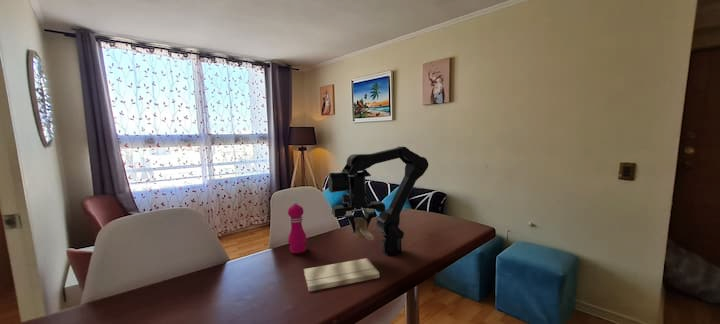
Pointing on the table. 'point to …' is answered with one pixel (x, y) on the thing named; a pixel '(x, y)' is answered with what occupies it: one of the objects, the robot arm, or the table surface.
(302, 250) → the pepper mill
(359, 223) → the wooden mallet
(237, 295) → the table surface
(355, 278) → the board
